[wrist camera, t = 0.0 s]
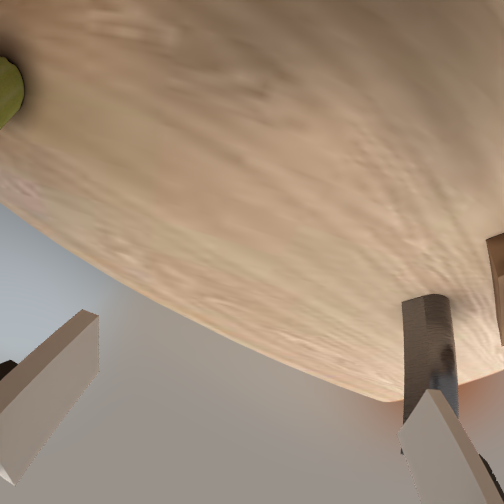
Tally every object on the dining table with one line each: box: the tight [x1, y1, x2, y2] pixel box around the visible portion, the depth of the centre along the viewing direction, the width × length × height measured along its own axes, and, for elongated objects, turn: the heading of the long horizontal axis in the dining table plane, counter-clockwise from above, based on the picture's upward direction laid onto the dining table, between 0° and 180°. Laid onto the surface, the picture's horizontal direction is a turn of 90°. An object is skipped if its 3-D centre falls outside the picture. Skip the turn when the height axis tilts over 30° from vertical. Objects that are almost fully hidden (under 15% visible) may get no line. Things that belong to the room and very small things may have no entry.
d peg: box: [401, 294, 458, 455], centre depth 26 cm, size 5×5×16 cm
